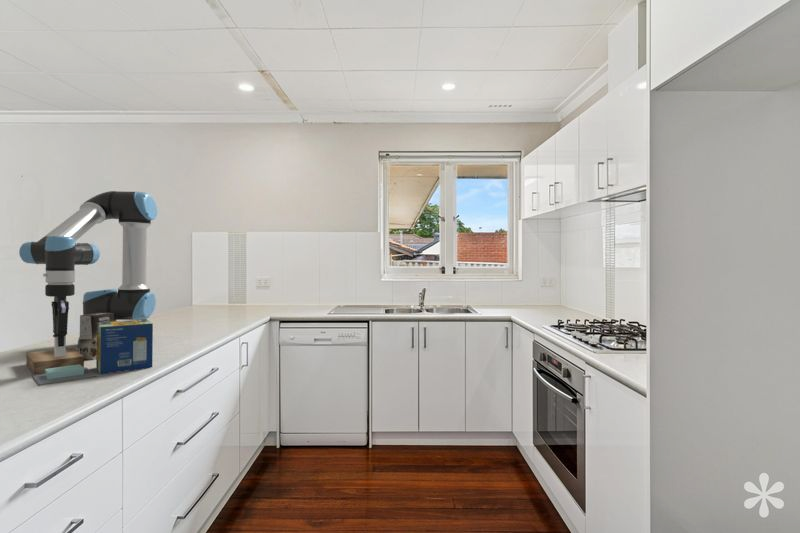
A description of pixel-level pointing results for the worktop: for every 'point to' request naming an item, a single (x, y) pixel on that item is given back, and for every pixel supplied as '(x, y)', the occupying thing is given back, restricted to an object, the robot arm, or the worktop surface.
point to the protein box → (124, 345)
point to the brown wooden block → (52, 360)
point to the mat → (43, 380)
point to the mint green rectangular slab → (64, 371)
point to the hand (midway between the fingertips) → (60, 355)
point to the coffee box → (91, 332)
